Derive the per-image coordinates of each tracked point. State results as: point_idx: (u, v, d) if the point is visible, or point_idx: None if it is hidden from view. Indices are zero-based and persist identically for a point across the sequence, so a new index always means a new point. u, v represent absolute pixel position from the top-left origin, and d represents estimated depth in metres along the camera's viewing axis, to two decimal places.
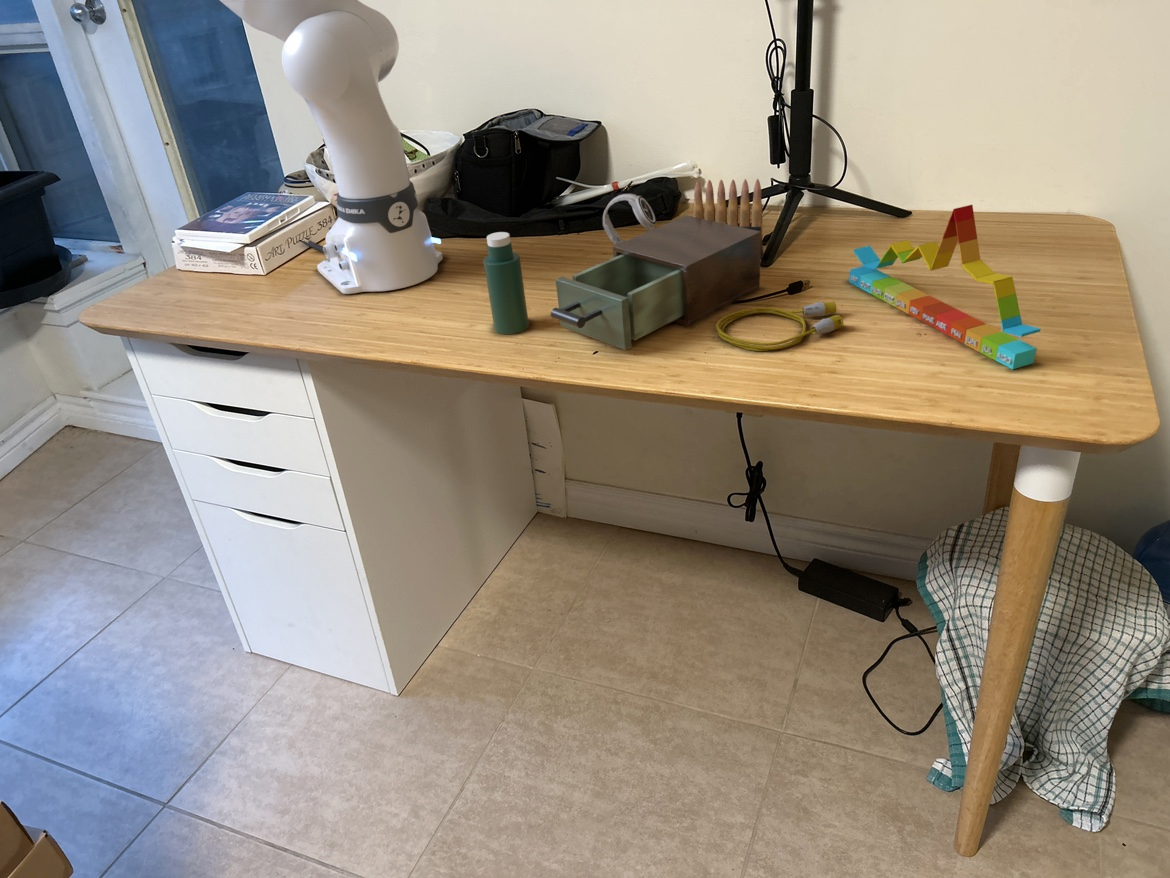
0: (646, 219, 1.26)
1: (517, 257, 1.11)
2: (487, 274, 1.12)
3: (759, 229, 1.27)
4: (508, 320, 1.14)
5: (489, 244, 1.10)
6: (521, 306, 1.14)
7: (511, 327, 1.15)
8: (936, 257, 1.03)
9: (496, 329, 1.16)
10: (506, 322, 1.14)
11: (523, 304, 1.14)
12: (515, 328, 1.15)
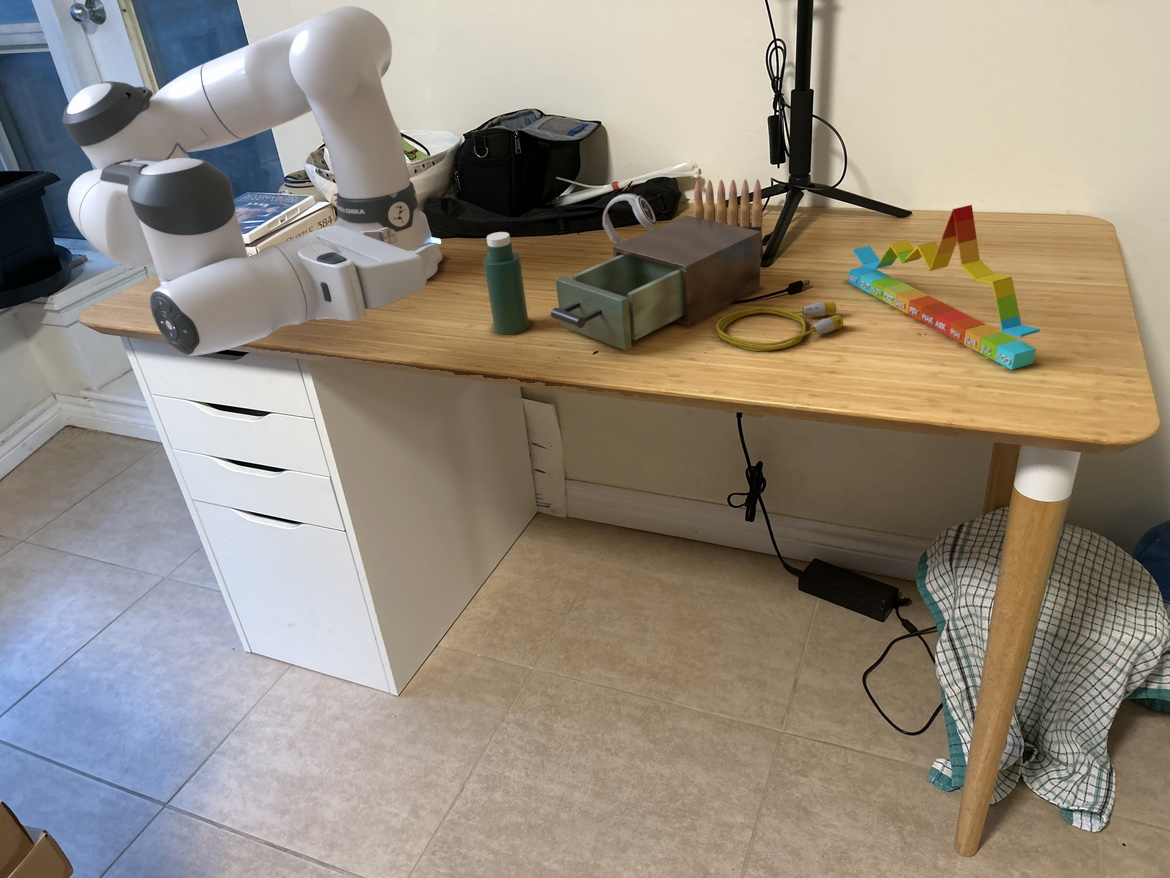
0: (646, 219, 1.26)
1: (517, 257, 1.11)
2: (487, 274, 1.12)
3: (759, 229, 1.27)
4: (508, 320, 1.14)
5: (489, 244, 1.10)
6: (521, 306, 1.14)
7: (511, 327, 1.15)
8: (935, 257, 1.03)
9: (496, 329, 1.16)
10: (506, 322, 1.14)
11: (523, 304, 1.14)
12: (515, 328, 1.15)
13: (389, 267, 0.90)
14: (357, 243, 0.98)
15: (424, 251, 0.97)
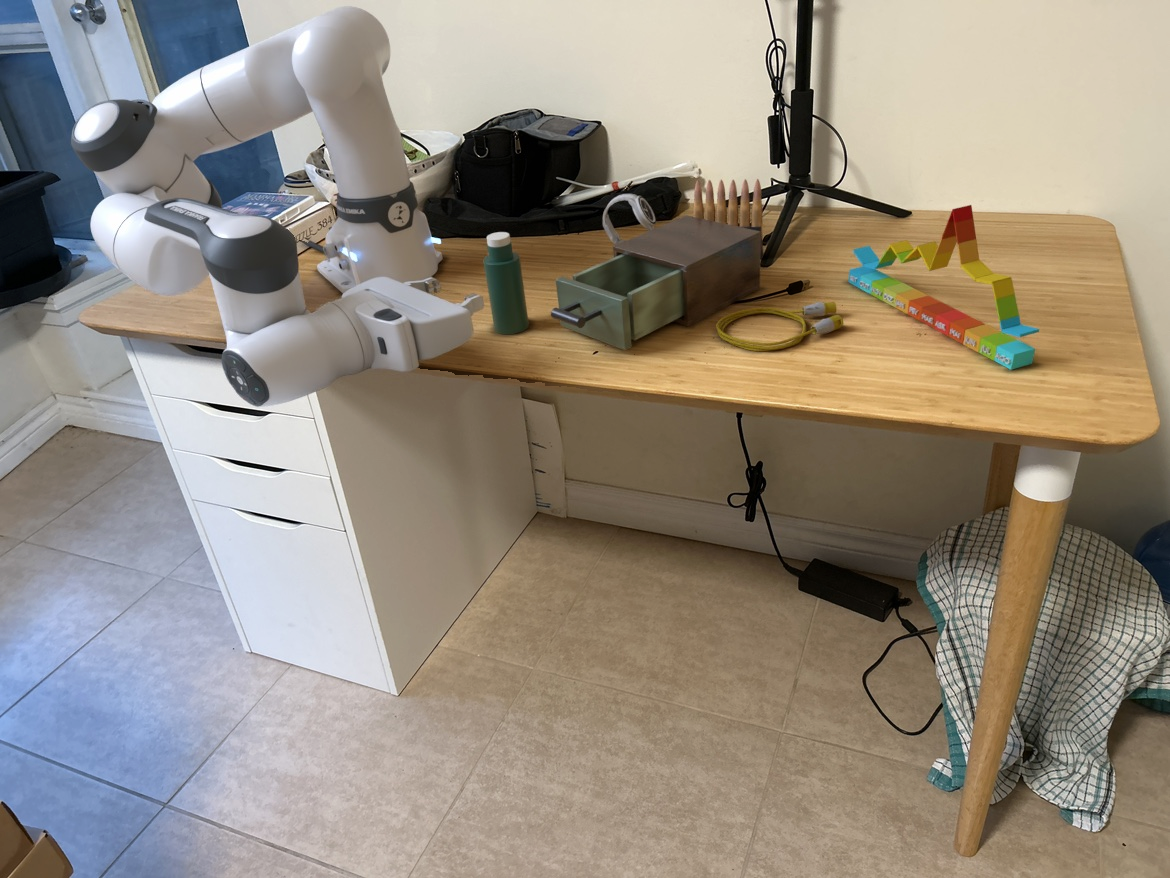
0: (646, 219, 1.26)
1: (517, 257, 1.11)
2: (487, 274, 1.12)
3: (759, 229, 1.27)
4: (508, 320, 1.14)
5: (489, 244, 1.10)
6: (521, 306, 1.14)
7: (511, 327, 1.15)
8: (935, 258, 1.03)
9: (496, 329, 1.16)
10: (506, 322, 1.14)
11: (523, 304, 1.14)
12: (515, 328, 1.15)
13: (441, 322, 0.97)
14: (406, 295, 1.04)
15: (470, 303, 1.04)
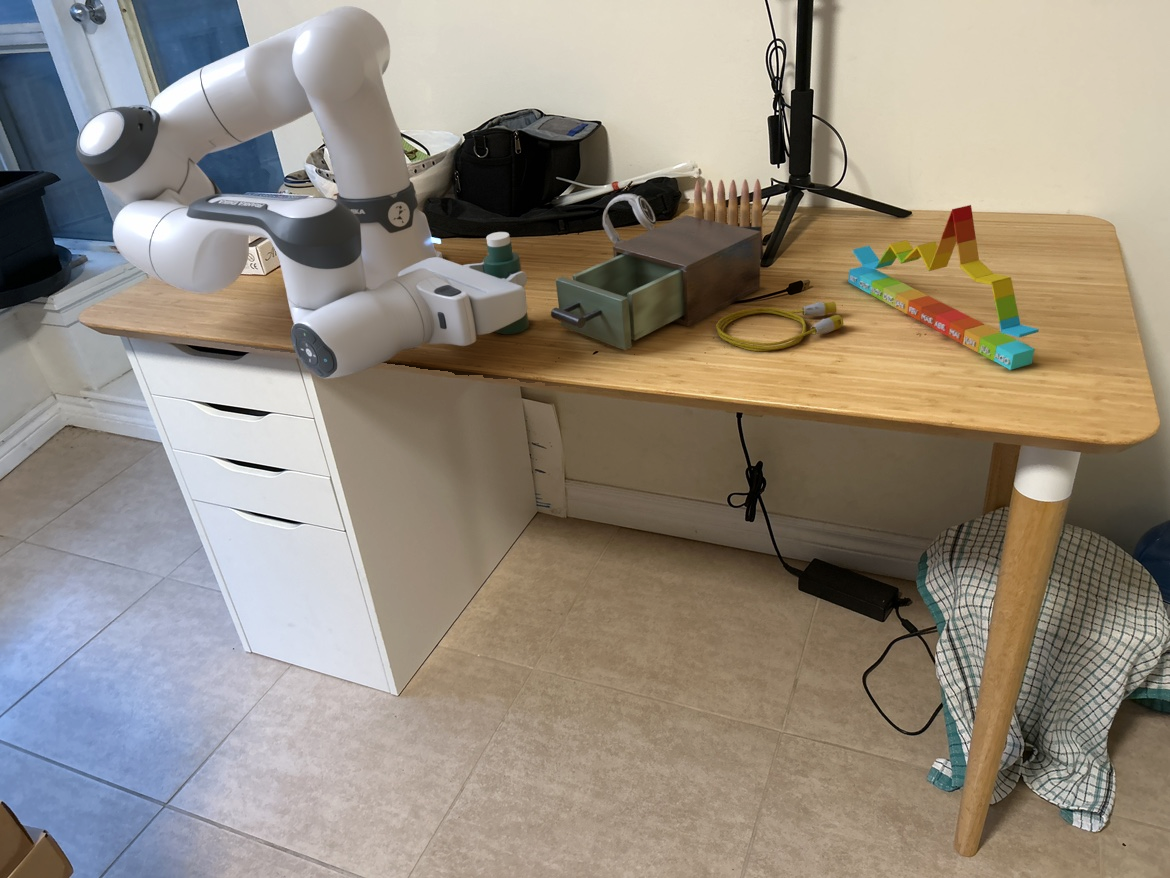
0: (646, 219, 1.26)
1: (517, 257, 1.11)
2: None
3: (759, 229, 1.27)
4: None
5: (489, 244, 1.10)
6: None
7: (511, 327, 1.15)
8: (935, 258, 1.03)
9: None
10: None
11: None
12: (515, 328, 1.15)
13: (498, 298, 1.01)
14: (461, 274, 1.09)
15: (514, 278, 1.09)
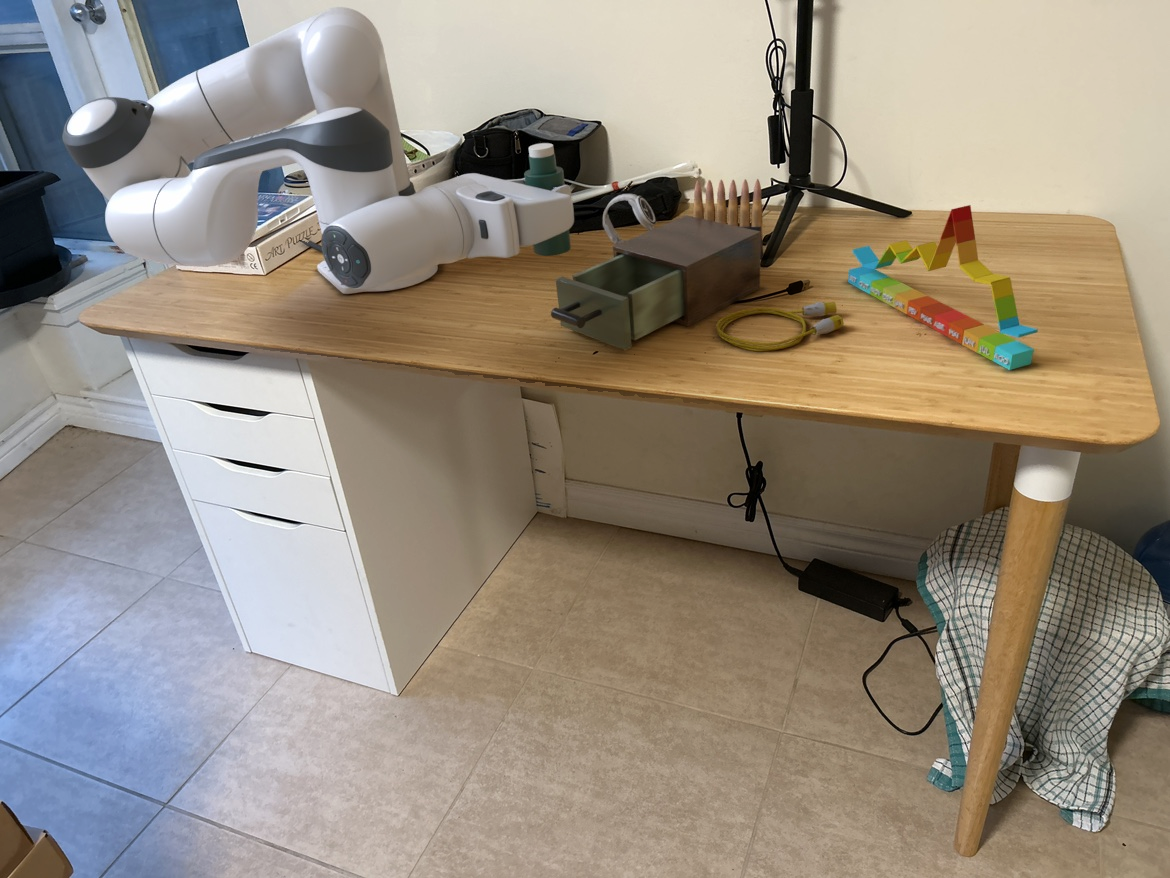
0: (646, 219, 1.26)
1: (561, 170, 1.04)
2: None
3: (759, 229, 1.27)
4: (549, 239, 1.06)
5: (531, 155, 1.02)
6: None
7: (553, 248, 1.07)
8: (934, 258, 1.03)
9: (536, 251, 1.08)
10: (548, 242, 1.07)
11: None
12: (557, 249, 1.07)
13: (544, 205, 0.94)
14: (502, 186, 1.01)
15: (558, 191, 1.02)
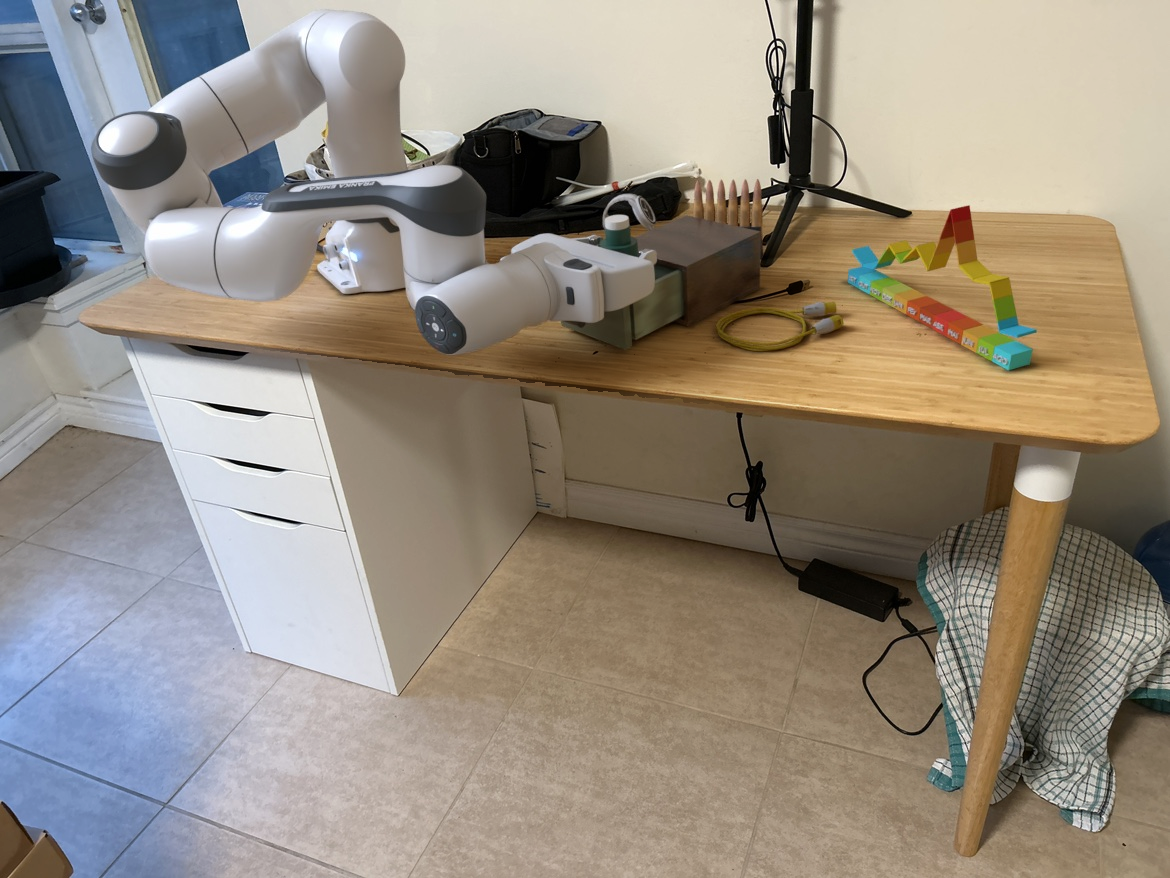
0: (646, 219, 1.26)
1: (635, 241, 1.07)
2: None
3: (759, 229, 1.27)
4: None
5: (608, 227, 1.05)
6: None
7: None
8: (933, 258, 1.02)
9: None
10: None
11: None
12: None
13: (630, 272, 0.96)
14: (581, 249, 1.04)
15: (646, 257, 1.03)
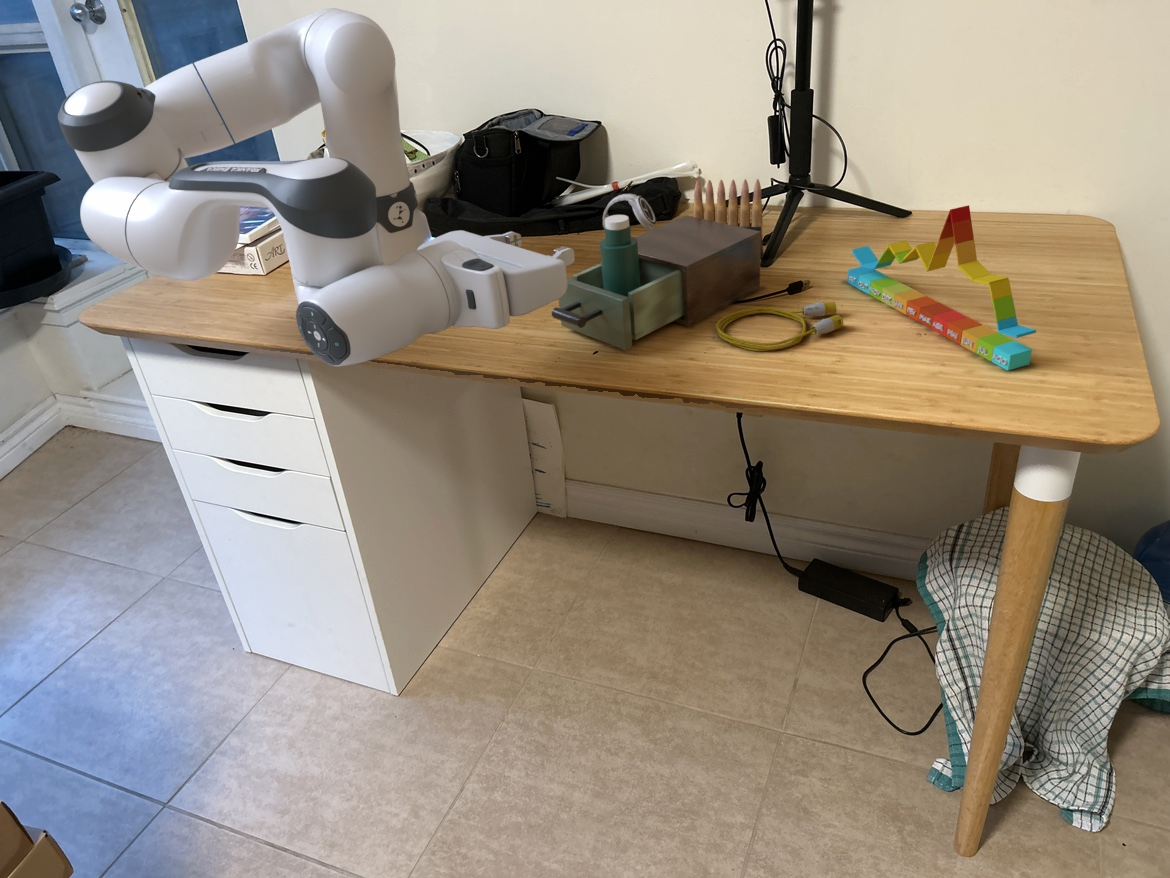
0: (646, 219, 1.26)
1: (635, 241, 1.07)
2: (604, 258, 1.07)
3: (759, 229, 1.27)
4: None
5: (608, 227, 1.05)
6: None
7: None
8: (933, 258, 1.02)
9: None
10: None
11: None
12: None
13: (536, 273, 0.88)
14: (491, 248, 0.95)
15: (561, 256, 0.94)
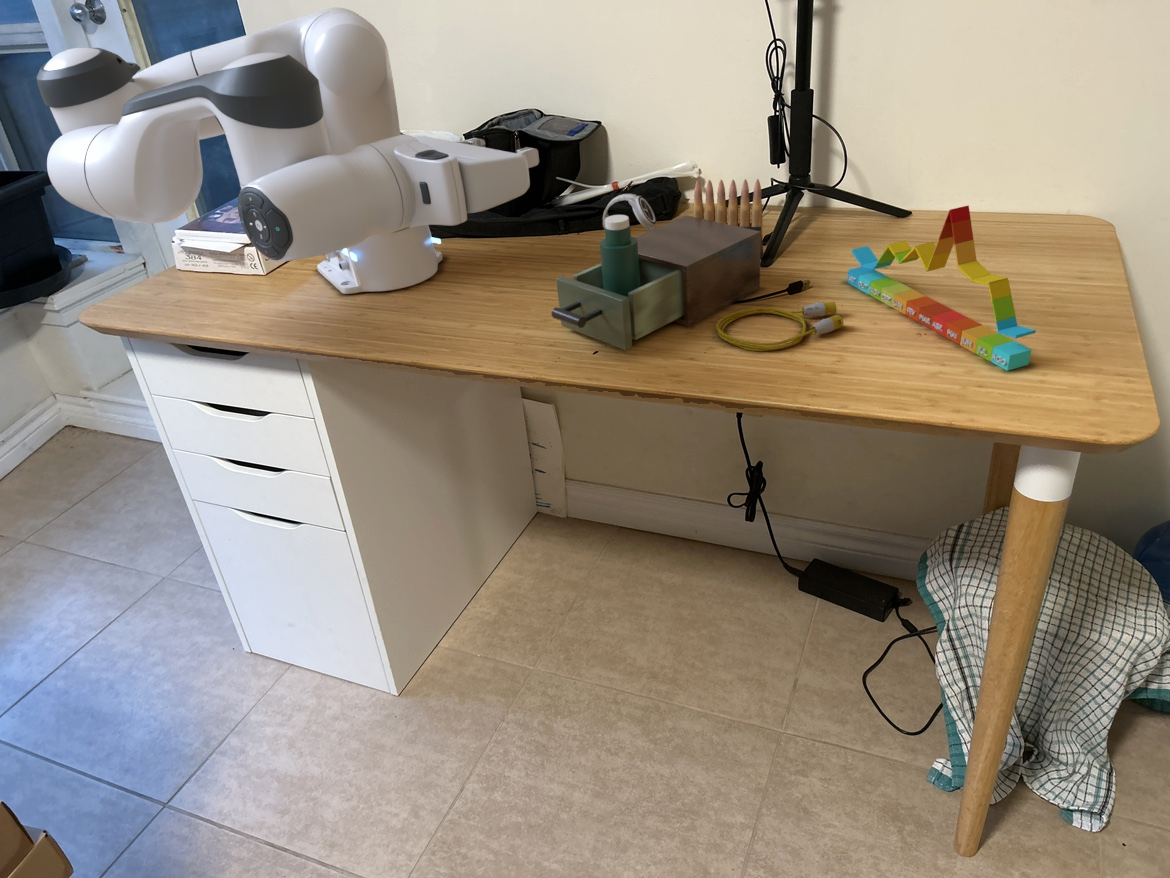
0: (646, 219, 1.26)
1: (635, 241, 1.07)
2: (604, 258, 1.07)
3: (759, 229, 1.27)
4: None
5: (608, 227, 1.05)
6: None
7: None
8: (933, 258, 1.02)
9: None
10: None
11: None
12: None
13: (494, 165, 0.82)
14: (450, 147, 0.90)
15: (524, 155, 0.89)
